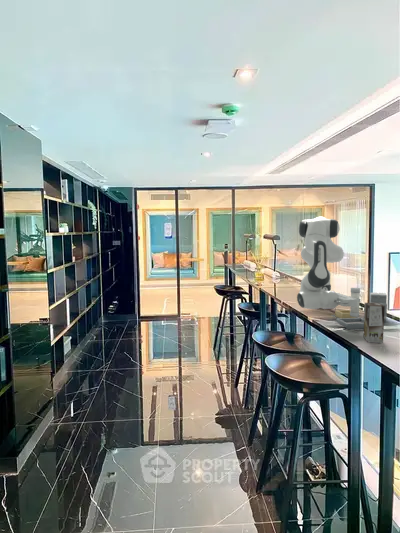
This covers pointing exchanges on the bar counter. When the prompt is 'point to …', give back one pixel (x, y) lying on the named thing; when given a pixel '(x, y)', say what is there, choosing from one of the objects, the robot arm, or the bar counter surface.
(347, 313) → the block
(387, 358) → the bar counter surface
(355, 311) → the cylinder
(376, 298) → the circuit breaker
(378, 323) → the coffee box
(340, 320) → the parts tray
